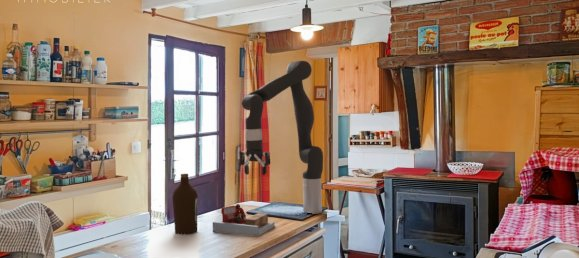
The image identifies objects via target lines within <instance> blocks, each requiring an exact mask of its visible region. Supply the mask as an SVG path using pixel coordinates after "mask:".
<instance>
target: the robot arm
mask: <svg viewBox="0 0 579 258" xmlns="http://www.w3.org/2000/svg"><path fill="white" fill-rule="evenodd" d="M311 75H312V66H311V64H310V63H309V61H306V60H295V61H292V62H290V63H288V65H287V67H286V73H285V74H282V75H281V76H278V77H277V78H275V79H273V80H270V81H269V82H267V83H266V84H264V85H262V86H261V87H260V88H258V89H256V90H254V91H251V92H249V93H248V94H246V95H244V97H243V98H242V100H241V106H242V108H243V109H244V110H246V111H249V114H248V116H246V118H245V149H246V151H244V150H243V151H240V152H239V164H240V165H241V166H243V169H244V170H243V172H244V174H245V175H249V174H250V166H249V164H250V163H251V162H258V163H259V164H260V165H261V173H262V176H265V175H267V172H268V170H267V166H269V165H271V155H270V154H271V153H270V151H264V150H263V149H264V148H263V147H264V146H263V144H264V143H263V131H262V116H263V111H264V103H266V102H269V101H270V100H272V99H273V98H275V97H276V96H278V95H279V94H280V93H282V92H284V91H285V90H287V89H288V88H290V92H291V97H292V104H293V109H294V116H295V122H296V123H295V124H296V130H297V139H298V155H299V159H300V161H301V162H302V163H303V164H306V165H307V169H306V170H305V171H303V172H302V203H303V204H302V206H303V207H302V208H303V209H302V210H303V211H304V212H308V213H312V214H311V215H316V214H317V215H318V214H321V213H323V212H322V210H323V208H322V207H323V206H322V205H323V204H322V201H323V200H322V174H323V171H324V152H323V150H322V148H321V147H319V146H315V145H313V144H312V138H311V137H312V131H313V127H314V124H315V114H314V108H313V103H312V102H311V100H310V98H309V96H308V95H307V93H306V91H305V89H304V85H303V84H304V83H303V81H304V80H306V79H308V78H309V77H310V76H311ZM263 156H264V157H263ZM246 157H247V158H246ZM264 158H265V159H264ZM303 211H302V212H303ZM304 212H303V213H304Z"/></svg>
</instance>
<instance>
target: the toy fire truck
mask: <svg viewBox="0 0 579 258" xmlns="http://www.w3.org/2000/svg"><path fill="white" fill-rule="evenodd" d="M220 213H221V215H222V217H221V218H222V221H221V222H226V223H235V224H245V219H247V216H246V213H245V211H244V209H243V207H241V205H240V204H239V203H237V204H236V205H229V206H224V207H222V208H221V211H220Z"/></svg>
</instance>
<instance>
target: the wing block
mask: <svg viewBox="0 0 579 258" xmlns="http://www.w3.org/2000/svg"><path fill="white" fill-rule="evenodd" d="M268 215H269V214H268V213H265V212H263V213H262V212H258V213H255V214H254V215H251V216H249V217H246V219H245V225H255V226H259V228H261V227H263V226H264V225H266V224H268V223H269V216H268Z"/></svg>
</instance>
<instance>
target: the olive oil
mask: <svg viewBox="0 0 579 258" xmlns="http://www.w3.org/2000/svg"><path fill="white" fill-rule="evenodd" d="M189 179H190V178H189V174H188V173H181V174H180V184H179V185H177V187H176V188H175V189H174V191H173V193H172V197H171V198H172V207H173V208H172V209H173V221H174V232H175V234H176V235H184V234H185V235H192V234H195V233H197V232H198V203H199V196H198V191H197V189H196V188H195V187H193V185H191V183H190V182H189Z"/></svg>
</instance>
